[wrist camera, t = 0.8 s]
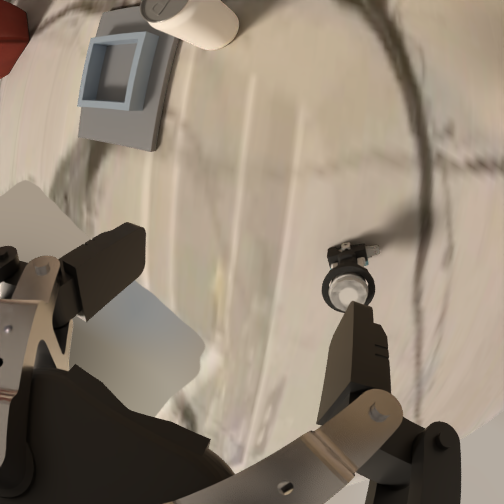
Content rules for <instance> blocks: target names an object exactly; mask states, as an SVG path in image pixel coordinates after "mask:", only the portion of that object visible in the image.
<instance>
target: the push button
mask: <svg viewBox="0 0 504 504" xmlns="http://www.w3.org/2000/svg"><path fill="white" fill-rule="evenodd" d="M345 244H347V245H345ZM341 247H342V248H341V249H336V248H335V247H332V248H329V249H328V253H327V258H328V262H329V266H330V269H331V270H330V271H329V273H328V274H327V275H326V277H325V279H324V281H323V284H322V295H323V298H324V300H325V302H326V303H327V304H328V305H329V306H330V307H331V308H332V309H334V310H336V311H339V312H343V313H345V312H346V310H347V308H348V306H349V304H350V302H351V301H355V302H358V303H361V304H364V305H367V306H368V305H369V303H370V302H371V301H372V299H373V297H374V294H375V284H374V280H373V278H372V276H371V275H370V273H369V272H368V270H367V269H366V268H364V266H366V265H368V258H369V257H372V256H373V255H377V254H380V250H379V246H378V245H375V246H365V244H359V245H355V246H350V242H347V243H343V244H342V246H341ZM374 247H376V248H375V249H374ZM376 251H377V253H374V252H376ZM365 279H366V280H367V282H368V286H367V284H366V281H365ZM331 280H332V283H331V285H330V287H329V283H330V281H331Z"/></svg>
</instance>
